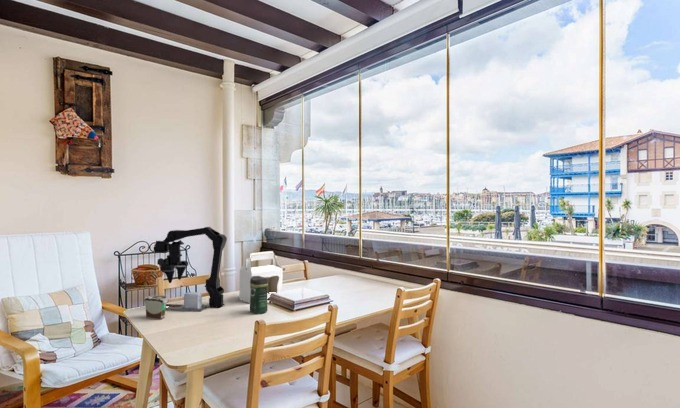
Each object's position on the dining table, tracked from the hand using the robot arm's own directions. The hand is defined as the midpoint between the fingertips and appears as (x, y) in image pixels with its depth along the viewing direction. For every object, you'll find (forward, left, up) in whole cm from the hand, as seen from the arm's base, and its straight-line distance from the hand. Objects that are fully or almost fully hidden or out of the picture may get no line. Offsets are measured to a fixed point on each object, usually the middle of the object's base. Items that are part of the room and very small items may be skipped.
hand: (174, 281), depth 201 cm
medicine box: (-13, +5, -14) cm, 20 cm away
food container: (-3, +20, -14) cm, 25 cm away
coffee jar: (-49, +5, -14) cm, 51 cm away
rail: (-7, +5, -14) cm, 16 cm away
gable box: (-42, -22, -14) cm, 49 cm away
